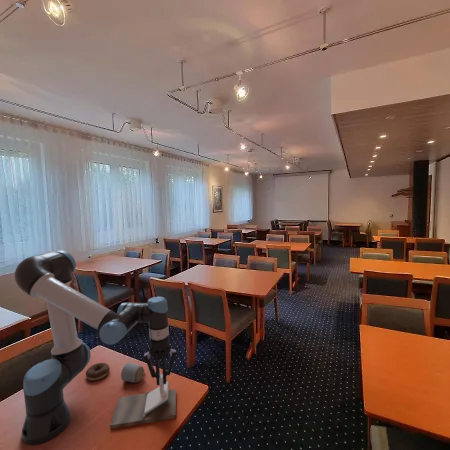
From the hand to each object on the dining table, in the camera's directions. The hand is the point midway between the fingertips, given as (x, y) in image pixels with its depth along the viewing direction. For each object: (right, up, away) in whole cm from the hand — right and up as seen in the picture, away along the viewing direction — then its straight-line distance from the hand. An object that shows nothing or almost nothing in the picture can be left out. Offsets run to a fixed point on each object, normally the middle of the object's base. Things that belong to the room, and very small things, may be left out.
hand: (162, 391), depth 106 cm
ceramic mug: (-18, -6, +18) cm, 26 cm away
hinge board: (-6, -7, 0) cm, 10 cm away
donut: (-37, -6, +21) cm, 43 cm away
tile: (-2, -2, 0) cm, 3 cm away
